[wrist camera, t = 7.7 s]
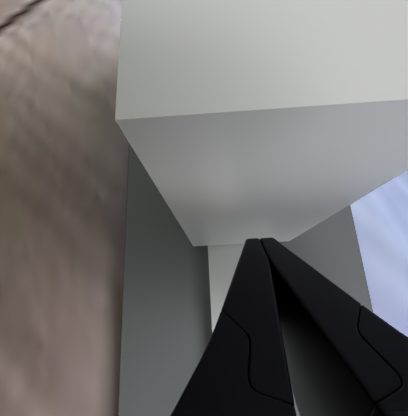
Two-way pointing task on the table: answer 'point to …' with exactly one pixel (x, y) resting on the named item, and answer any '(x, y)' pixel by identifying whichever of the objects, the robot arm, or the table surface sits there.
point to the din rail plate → (196, 291)
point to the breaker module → (263, 108)
